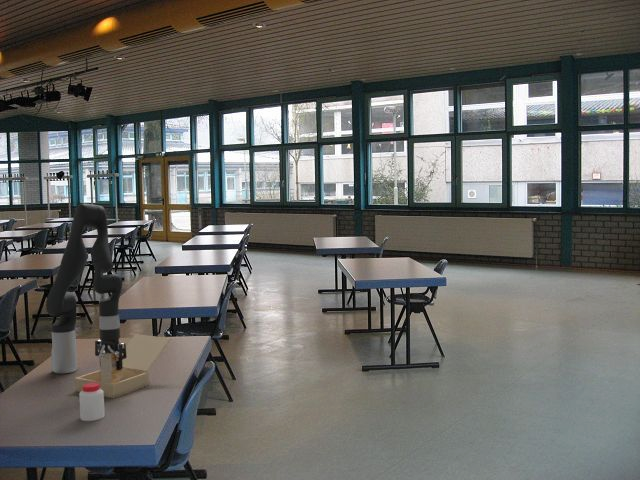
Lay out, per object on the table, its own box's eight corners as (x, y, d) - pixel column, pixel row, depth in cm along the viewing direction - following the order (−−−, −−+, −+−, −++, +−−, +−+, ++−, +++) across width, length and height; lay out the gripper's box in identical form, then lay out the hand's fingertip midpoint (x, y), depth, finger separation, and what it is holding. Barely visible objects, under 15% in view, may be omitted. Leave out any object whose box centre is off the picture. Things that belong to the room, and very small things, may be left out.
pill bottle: (83, 413, 228) (82, 382, 227) (107, 412, 228) (105, 381, 227) (77, 421, 220) (75, 388, 219) (101, 420, 221) (100, 387, 220)
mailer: (75, 391, 254) (75, 378, 254) (111, 378, 270) (111, 366, 269) (113, 398, 244) (113, 384, 244) (148, 385, 260) (148, 372, 259)
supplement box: (112, 389, 252) (110, 355, 251) (101, 388, 253) (99, 354, 252) (124, 383, 260) (122, 349, 259) (113, 382, 261) (111, 349, 260)
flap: (135, 334, 280) (136, 335, 280) (111, 365, 269) (111, 366, 269) (170, 338, 271) (171, 339, 271) (146, 370, 259) (147, 372, 260)
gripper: (130, 326, 255) (132, 368, 256) (103, 323, 262) (105, 364, 263) (115, 330, 248) (117, 373, 250) (88, 326, 255) (90, 368, 256)
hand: (111, 368), depth 256 cm, fingers open, 8 cm apart
